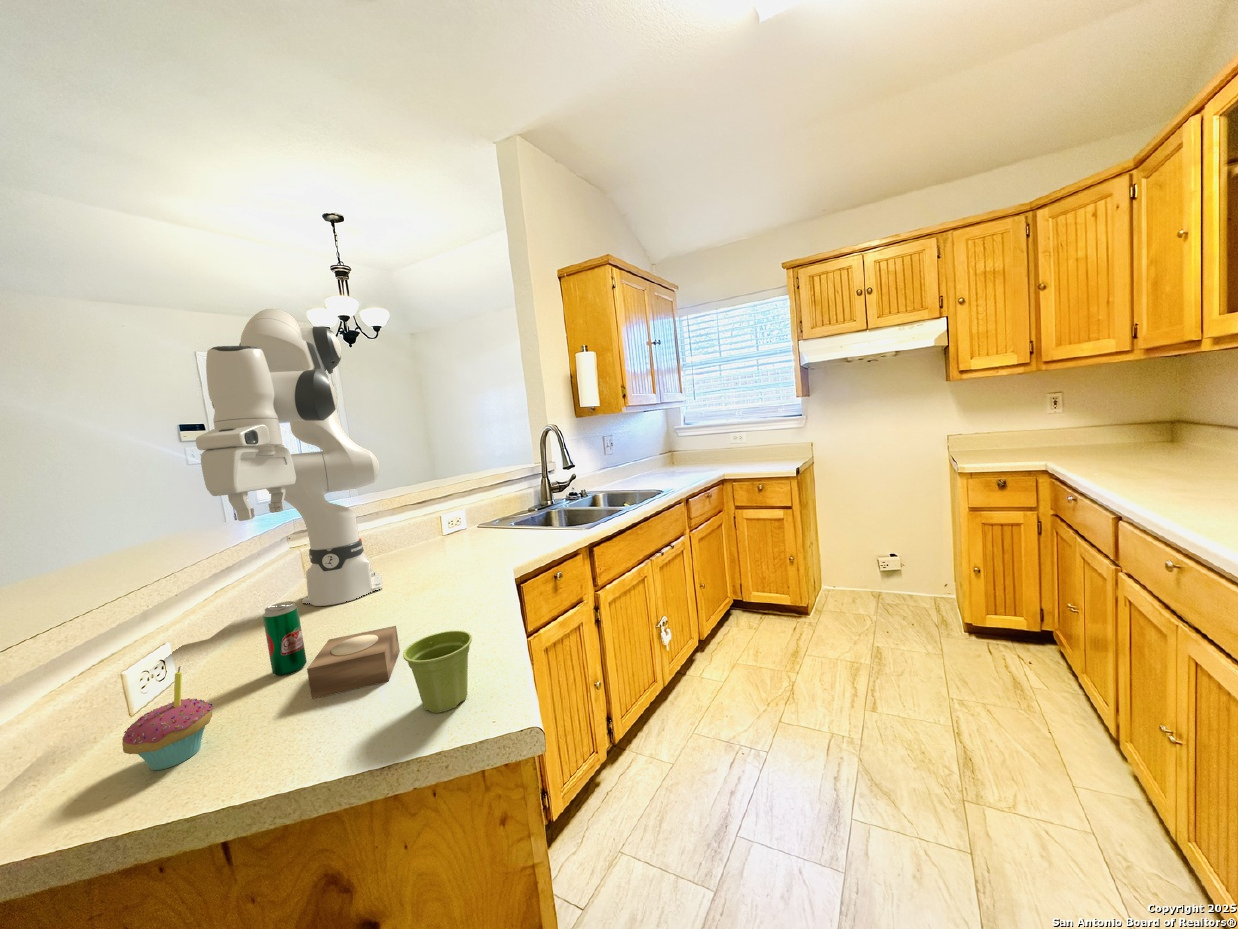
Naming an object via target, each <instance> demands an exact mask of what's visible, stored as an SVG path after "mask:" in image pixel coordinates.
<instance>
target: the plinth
mask: <svg viewBox="0 0 1238 929" xmlns="http://www.w3.org/2000/svg"><path fill="white" fill-rule="evenodd" d="M400 651H401V650H400V643H399V637H398V630H397V625H393V626H388V627H384V628H379V629H374V630H368V631H363V632H359V633H354V634H349V635H344V636H339V637H335V638H329V639H328V640H327V641H326V643H325V644H324V646H322V648H321V649H320V651H319V652H318V654H317V655H316V656H315V658H314V659H313V660H312V662H311V663H310V664H309V665H308V667H307V668H306V672H307V677H308V684H309V689H310V695H311V700H315V699H318V698H324V697H327V696H331V695H336V694H341V693H345V692H349V691H352V690H353V691H354V690H356V689H361V688H365V687H370V686H375V685H378V684H383V683H386V682H389V681H390V679H391V676H392V674H393V671H394V668H395V666H396V663H397V661H398V658H399V655H400Z"/></svg>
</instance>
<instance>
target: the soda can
mask: <svg viewBox="0 0 1238 929" xmlns="http://www.w3.org/2000/svg"><path fill="white" fill-rule="evenodd" d="M262 619H263V620H262V621H263V627H264V632H265V637H266V638H265V639H266V643H267V649H268V653H269V654H268V655H269V660H270V667H271V672H272V674H273V675H274V676H277V677H285V676H288V675H289V676H290V675H292V674H295V673H297V672H299V671H300V670H302V669H304V667H305V666H306V665H307V661H308V660H307V655H306V648H305V644H304V643H305V642H304V637H303V629H302V625H301V624H302V623H301V617H300V612H299V607H298V606H297V605H296V603H295V601H292V600H290V601H287V600H286V601H282V602H278V603H275V604H272V605H270V606H268V607H266V608H264V613H263V615H262Z"/></svg>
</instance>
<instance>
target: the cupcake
mask: <svg viewBox="0 0 1238 929" xmlns="http://www.w3.org/2000/svg"><path fill="white" fill-rule="evenodd" d="M181 667H182V666H180V665H179V666H178V668H177V669H178V670H177V672H175V673H174V692H173V694H174V695H173V700H172V702H168V704H164V705H160V706H159V707H156V708H154V709H152V710H150V711H149V712H147V713H146V712H145V713H144V714H143V715H141V716H140V717H139V718H137V720H135V721H134V722H133V723H131V724H130V725H129V727H127V728H126V730H125V731H123V733H124V734H123V737H122V743H121V744H122V750H123V751H122V752H123V753H124V754H128V755H138V756H139V757H141V759H142V760H143V761H144V762H145V763H146V764H147V766H148V767H149V768H150V769H151V770H152V771H161V770H165V769H169V768H172V767H174V766H177V765H179V764H182V763H183V762H185V761H187V760H189V759H190V758H191V757H193V756H195V755H196V754H197V753H198V752H199V750H201V749H200V748H201V745H202V739H203V736H204V735H203V734H204V730H205V729H206V726H207V725H209V724H210V722H211V721H212V720H211V719H212V717H213V711H212V710H213V709H214V704H212V703H211V702H209V701H206V700H203V699H198V698H185V699H183V698H182V680H183V679H182V676H183V675H182V674H183V673H182V671H181Z"/></svg>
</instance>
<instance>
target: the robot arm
mask: <svg viewBox="0 0 1238 929" xmlns="http://www.w3.org/2000/svg"><path fill="white" fill-rule="evenodd" d="M341 359H342V345H341V343H340V340H339V339H338V337H337V336H336V334H335V333H334V332H333V331H332V329H330V328H329V327H324V326H313V327H300V325H299V323H298V321H297V320H296V319H295V317H293V316H292V315H291V314H289V313H288V312H286V311H284V310H281V309H277V308H266V309H262V310H260V311H258V312H256V313H255V314H254V315H253V316H252V317H250V319H249V320H248V321H247V322H246V324H245V326H244V328H243V331H242V333H241V335H240V342H239V345H220V346H219V345H218V346H214V347H212V348H209V349H207V352H206V360H205V371H206V383H207V384H206V385H207V391H208V398H209V400H210V402H211V405H212V408H213V409H214V414H213V425H214V426H213V427H214V429H213V428H212V429H211V430H209V431H207V432H206V433H203V434H199V435H198V436H197V437H196V438H195V445H196V448H197V450H199V451H202V453H201V455H200V465H201V466H200V467H201V471H202V472H201V473H202V475H203V480H204V484H205V485H204V486H205V488H206V490H207V492H208V493H209V494H210V495H211V496H213V497H219V496H227V497H228V502H229V504H230V505H231V506H232V508H233V509H234V510H235V511H236V512H235V513H236V519H237V520H238V521H239V522H243V521H249V520H253V519H254V518H255V513H254V512H255V509H254V507H252V508H251V506H250V504H249V501H248V499H249V492H255V491H261V490H266V491H268V493H269V494H270V503H268V508H269V510H268V511H269V513H272V514H273V513H280V512H284V510H285V505H284V501H285V502H287V503H288V504H289V505H291V506H292V507H293V508H294V509H295V510H296V511H297V512H298V513H299V514H300V516H301V518H302V520H303V522H304V524H305V528H306V531H307V537H308V541H309V547H310V548H309V549H308V552H309V554H308V557H309V560H310V563H311V565H310V567H308V569H307V570H306V572H305V576H306V577H305V579H306V588H307V589H306V590H307V596H306V597H304V598H302V604H303V603H306V604H307V603H308V604H307V605H312V606H315V607H316V606H317V607H318V606H319V607H322V606H332V605H338V604H342V603H347V602H349V601H350V602H351V601H354V600H357V599H359V597H360V598H362V597H363V596H362V595H365V596H367V595H368V593H369V592H371V591H374V590H376V589H380V588H382V587H383V576H381V575H382V573H376V572H375V571H373V567H372V562H371V559H370V558H369V557H368V556H367V555H366V554H365V553H364V551H365V550H364V544H363V539H362V537H359V529H358V528H359V527H358V524H357V523H358V522H357V515H356V513H355V511H354V510H352V509H351V508H349V507H348V506H344V505H340V504H336V503H334V502H333V503H332V502H330V501H328V500H326V498H325V495H326V494H329V493H333V492H334V493H336V492H342V491H351V490H356V489H359V488H362V487H366V486H369V485H371V484H374V482H376V480H377V479H378V477H379V474H380V470H381V468H380V467H381V466H380V462H379V459H378V458H377V456H376V455H375V453H373V451H371V450H369V449H367V448H365V447H363V446H360V445H358V444H357V443H355V442H354V440H352V439H351V438H350V437H349V436H348V435H347V434H346V432H345V431H344V429H343V426H342V424H341V421H340V417H339V414H338V409H337V404H338V397H337V392H336V388H335V386H334V384H333V382H332V380H331V379H330V378H329V375H332V374H333V372H334V369H335V368H336V367H337V366H338V365H339V364H340V363H341ZM327 373H328V374H327ZM284 422H289V426H290V431H291V434H293V436H294V437H295V438H296V439H298V440H299V441H300V442H302V443H305V444H308V445H311V446H315V447H317V448H319V449H320V450H321V451H320V450H319V451H311V452H302V453H291V452H290V451H289V449H288V448H286V447H285V445H284V444H283V440H282V434H281V428H280V423H284ZM381 577H382V578H381ZM382 589H383V588H382ZM380 590H381V589H380ZM371 593H372V592H371ZM366 594H367V595H366ZM369 594H370V593H369ZM361 596H362V597H361ZM356 598H357V599H356ZM346 601H347V602H346ZM309 603H310V604H309Z"/></svg>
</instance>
